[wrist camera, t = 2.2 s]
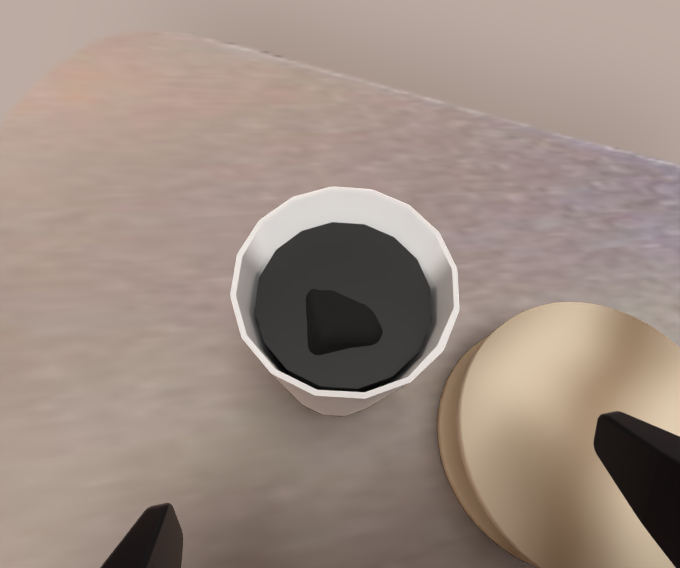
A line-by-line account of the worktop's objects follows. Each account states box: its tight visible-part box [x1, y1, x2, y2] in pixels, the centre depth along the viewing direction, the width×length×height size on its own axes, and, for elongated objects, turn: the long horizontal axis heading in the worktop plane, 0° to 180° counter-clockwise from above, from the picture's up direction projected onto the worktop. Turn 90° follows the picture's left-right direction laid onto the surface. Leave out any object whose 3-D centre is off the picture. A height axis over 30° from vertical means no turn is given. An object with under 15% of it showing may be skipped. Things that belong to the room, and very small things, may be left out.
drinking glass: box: [230, 186, 459, 416], centre depth 17 cm, size 7×7×10 cm
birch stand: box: [437, 302, 680, 568], centre depth 18 cm, size 11×11×4 cm
